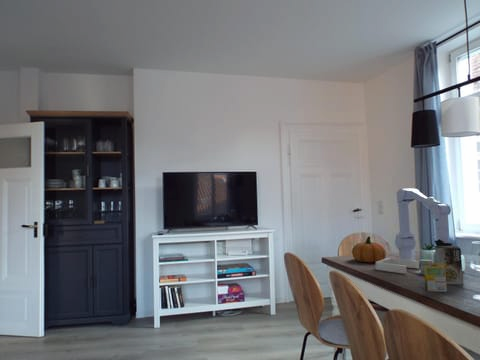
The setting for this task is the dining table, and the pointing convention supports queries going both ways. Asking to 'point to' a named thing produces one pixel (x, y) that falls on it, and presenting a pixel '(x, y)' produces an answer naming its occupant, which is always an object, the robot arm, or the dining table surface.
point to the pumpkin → (368, 252)
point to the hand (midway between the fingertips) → (443, 256)
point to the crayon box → (435, 277)
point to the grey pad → (419, 272)
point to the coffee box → (450, 263)
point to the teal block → (424, 264)
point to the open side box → (396, 265)
